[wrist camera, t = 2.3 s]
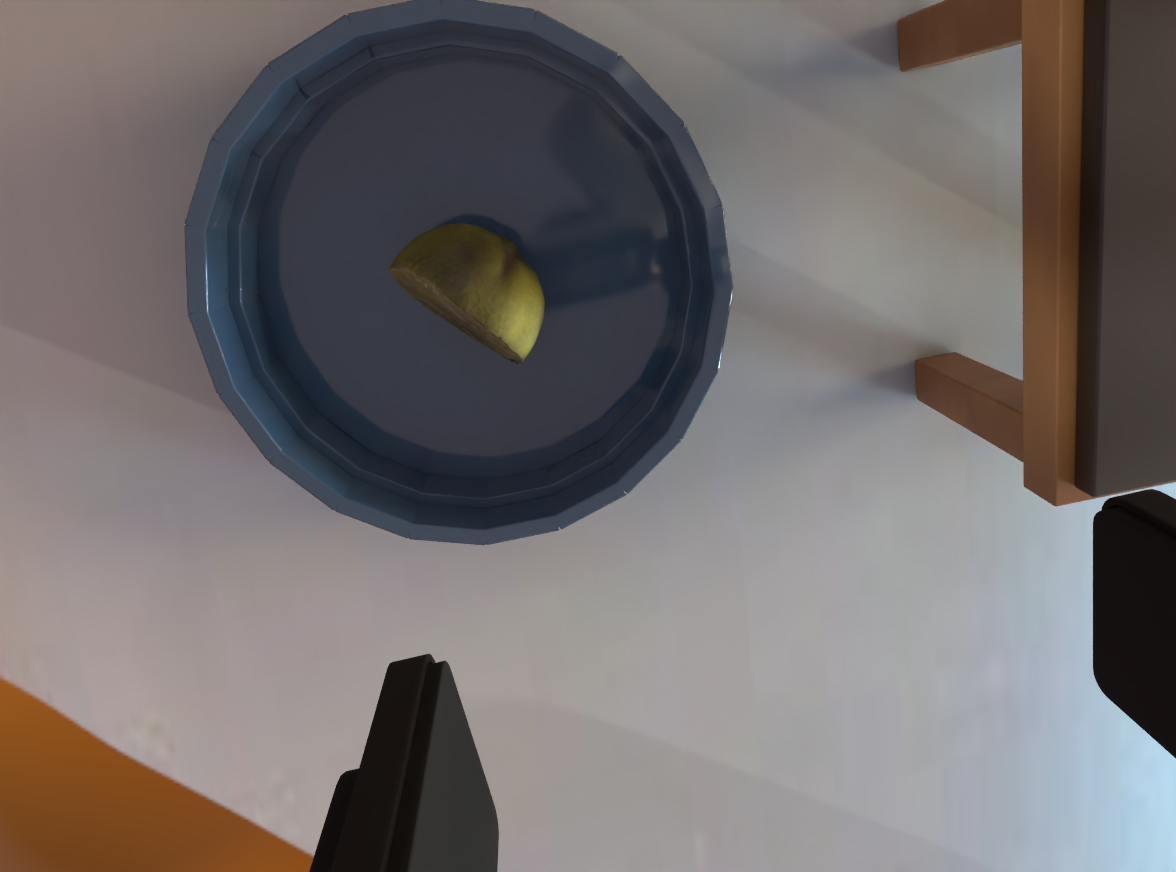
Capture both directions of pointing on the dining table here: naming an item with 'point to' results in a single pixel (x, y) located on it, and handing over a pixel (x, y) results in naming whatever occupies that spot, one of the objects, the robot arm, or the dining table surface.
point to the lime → (475, 286)
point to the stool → (1078, 242)
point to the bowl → (448, 196)
